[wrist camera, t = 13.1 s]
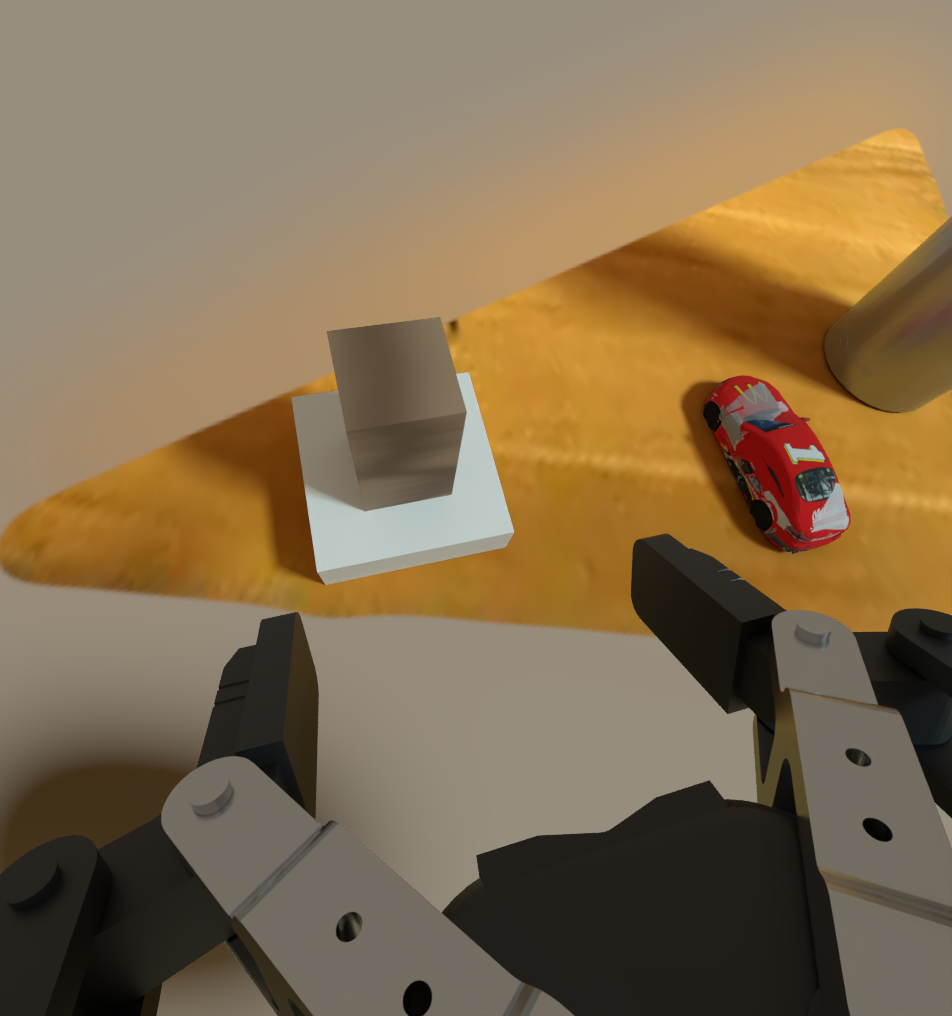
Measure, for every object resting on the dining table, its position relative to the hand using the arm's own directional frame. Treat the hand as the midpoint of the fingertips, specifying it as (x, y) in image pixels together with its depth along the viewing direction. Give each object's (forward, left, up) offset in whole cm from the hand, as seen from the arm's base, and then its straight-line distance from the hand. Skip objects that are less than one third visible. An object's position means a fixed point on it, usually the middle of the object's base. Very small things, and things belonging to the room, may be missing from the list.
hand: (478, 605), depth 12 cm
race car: (-25, -8, -19) cm, 33 cm away
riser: (0, -12, -19) cm, 22 cm away
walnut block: (0, -11, -16) cm, 19 cm away
